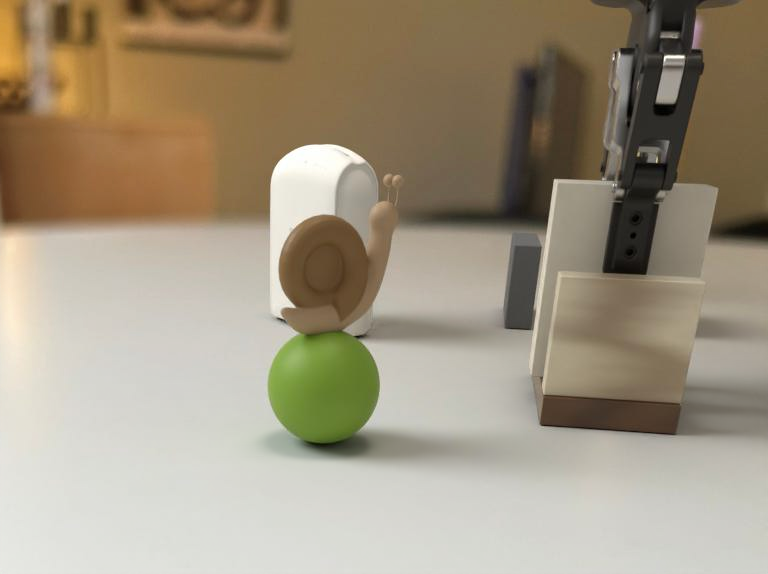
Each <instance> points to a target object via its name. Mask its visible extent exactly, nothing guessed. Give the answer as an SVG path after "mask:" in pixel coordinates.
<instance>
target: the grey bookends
mask: <svg viewBox="0 0 768 574" xmlns="http://www.w3.org/2000/svg"><path fill="white" fill-rule="evenodd" d="M542 249H543V246H542V244H541V241H540V238H539V236H538V233H536V232H516V231H515V232H514V231H513V232H512V233H511V240H510V247H509V257H508V265H507V274H506V282H505V290H504V299H503V307H502V309H503V322H504V328H505V329H517V330H518V329H519V330H531V329H532V325H533V318H534V317H533V315H534V310H535V302H536V295H537V287H538V279H539V272H540V264H541V256H542Z"/></svg>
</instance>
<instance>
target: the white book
mask: <svg viewBox="0 0 768 574" xmlns="http://www.w3.org/2000/svg"><path fill="white" fill-rule="evenodd" d="M613 182H615V181H601V180H597V179H596V180H594V179H568V178H567V179H566V178H563V179H562V178H554V179H553V186H552V192H551V197H550V198H551V199H550V207H549V213H548V222H547V229H546V234H545V235H546V237H545V243H544V250H543V258H542V264H541V273H540V278H539V279H540V280H539V287H538V295H537V302H536V310H535V317H534V324H533V332H532V339H531V345H530V354H529V361H528V366H529V373H530V377H532V376H534V377H543V375H544V368H545V361H546V354H547V347H548V340H549V333H550V326H551V319H552V312H553V305H554V298H555V291H556V284H557V277H558V272H559V271H572V272H592V273H603V272H602V266H603V260H604V254H605V248H606V242H607V236H608V229H609V223H610V217H611V211H612V205H613V202H622V201H613V193H611V187H612V183H613ZM718 193H719V187H716V186H713V185H711V184H707V183H682V182H681V183H680V182H679V183H678V182H676V183H674V184H673V187H672V190H671V191H668V194H667V195H665V198H664V201H663V202H662V203H661V202H654V203H658V204H659V209H658V215H657V220H656V226H655V231H654V237H653V242H652V247H651V253H650V258H649V264H648V269H647V273H646V275H654V276H675V277H696V278H700V279H701V275H702V271H703V267H704V261H705V257H706V256H705V255H706V252H707V246H708V242H709V237H710V232H711V227H712V223H713V218H714V213H715V209H716V208H715V207H716V204H717V203H716V202H717V199H718V195H719V194H718Z"/></svg>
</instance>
